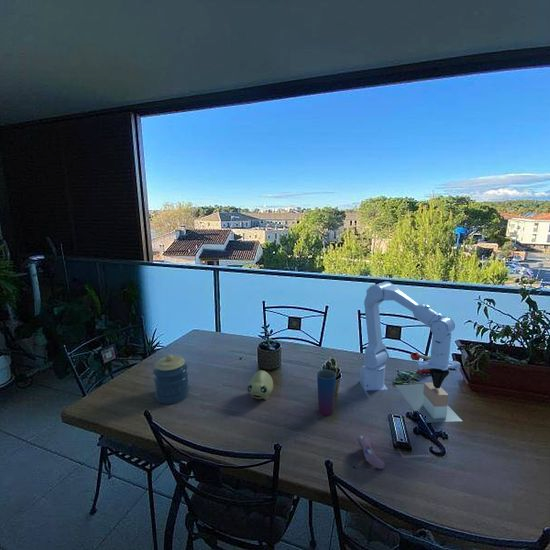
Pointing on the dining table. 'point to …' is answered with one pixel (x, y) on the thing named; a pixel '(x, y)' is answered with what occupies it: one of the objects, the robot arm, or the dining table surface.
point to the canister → (171, 379)
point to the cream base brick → (434, 409)
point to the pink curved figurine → (369, 452)
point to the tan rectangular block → (435, 395)
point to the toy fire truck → (416, 357)
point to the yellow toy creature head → (260, 385)
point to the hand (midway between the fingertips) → (436, 386)
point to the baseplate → (415, 400)
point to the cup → (326, 391)
